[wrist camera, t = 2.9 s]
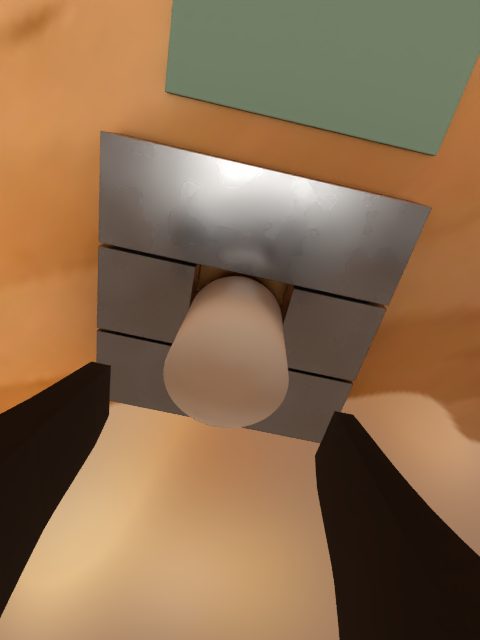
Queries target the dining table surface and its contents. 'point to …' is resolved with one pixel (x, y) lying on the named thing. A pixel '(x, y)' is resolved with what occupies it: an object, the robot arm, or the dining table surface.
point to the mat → (330, 63)
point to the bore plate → (243, 268)
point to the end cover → (229, 355)
